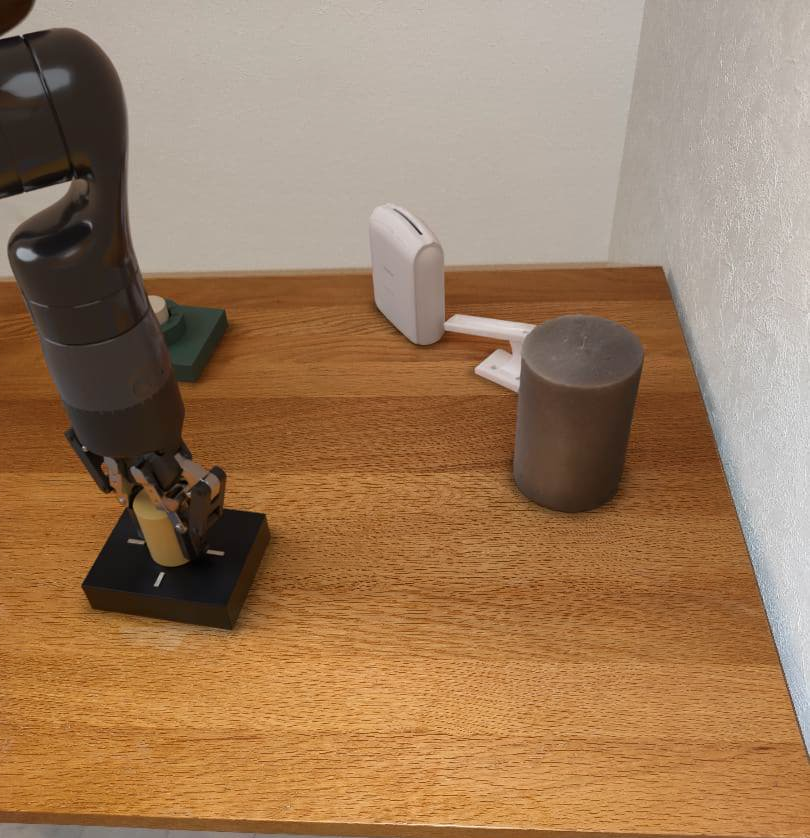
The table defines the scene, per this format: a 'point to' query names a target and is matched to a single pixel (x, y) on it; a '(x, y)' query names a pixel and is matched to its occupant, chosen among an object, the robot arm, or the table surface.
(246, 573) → the plate
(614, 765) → the table surface
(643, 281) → the table surface
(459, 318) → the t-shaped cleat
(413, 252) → the photo printer
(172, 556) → the lock knob
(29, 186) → the robot arm
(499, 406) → the table surface
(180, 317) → the block
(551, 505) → the pillar candle
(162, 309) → the bell button
